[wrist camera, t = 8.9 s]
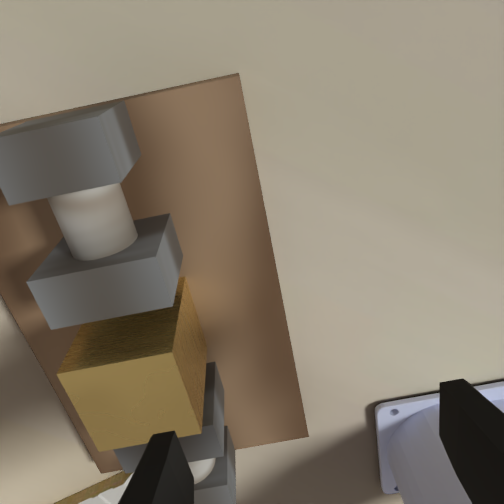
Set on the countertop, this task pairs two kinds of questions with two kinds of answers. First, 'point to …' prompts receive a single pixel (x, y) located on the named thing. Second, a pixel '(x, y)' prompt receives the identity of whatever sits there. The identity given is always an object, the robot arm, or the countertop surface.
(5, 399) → the countertop surface
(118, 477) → the baseboard molding
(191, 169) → the shaft base
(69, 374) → the block
